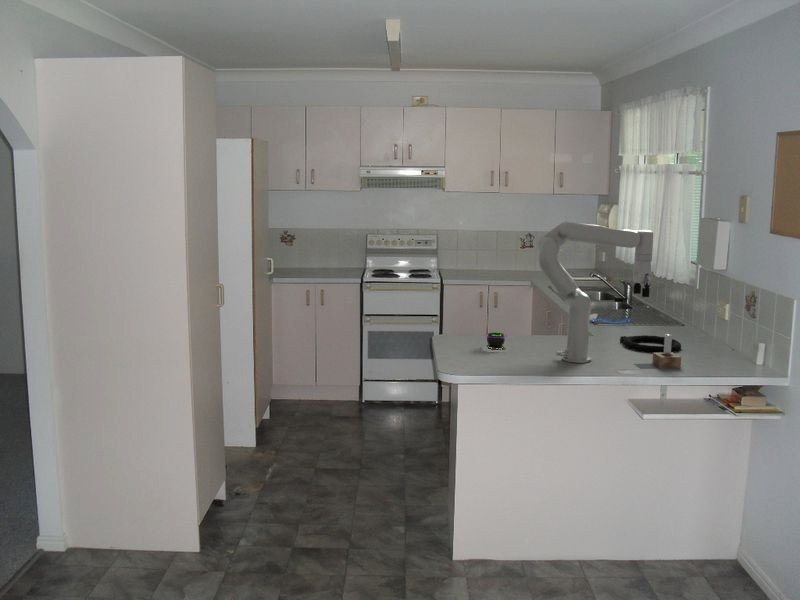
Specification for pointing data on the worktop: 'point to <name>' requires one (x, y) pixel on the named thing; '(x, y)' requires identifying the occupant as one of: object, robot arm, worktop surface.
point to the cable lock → (631, 344)
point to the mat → (648, 366)
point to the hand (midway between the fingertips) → (641, 295)
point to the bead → (666, 360)
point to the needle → (667, 345)
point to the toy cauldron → (496, 340)
